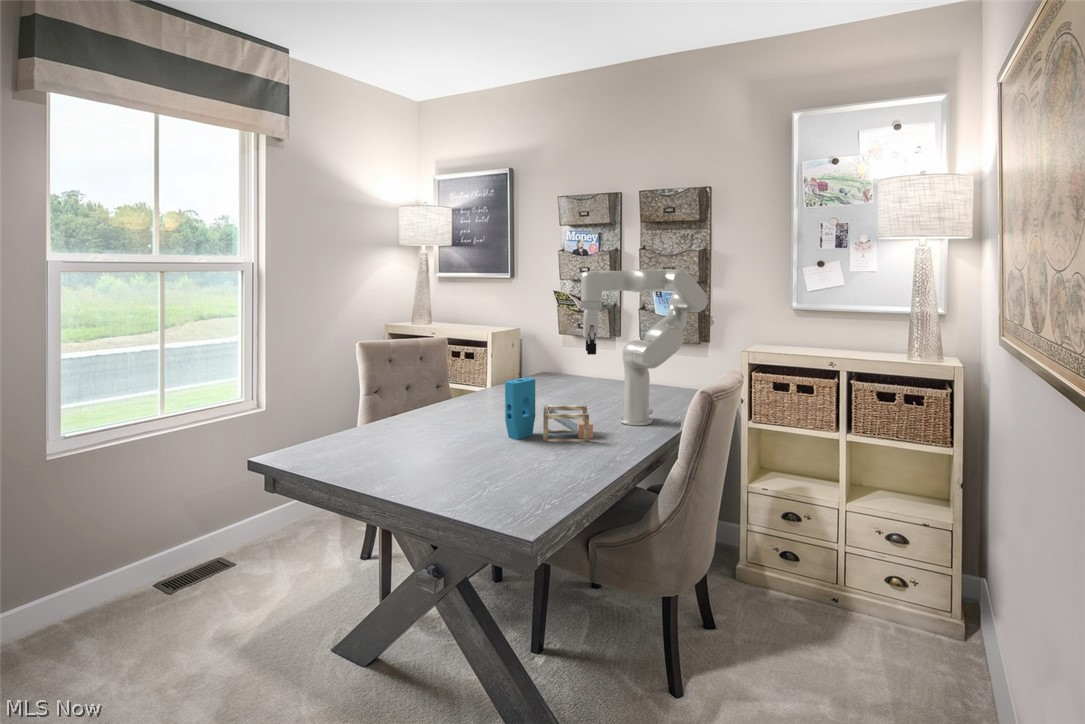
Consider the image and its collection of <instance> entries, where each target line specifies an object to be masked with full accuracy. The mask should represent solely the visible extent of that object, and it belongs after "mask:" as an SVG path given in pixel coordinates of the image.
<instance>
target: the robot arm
mask: <svg viewBox="0 0 1085 724" xmlns="http://www.w3.org/2000/svg"><path fill="white" fill-rule="evenodd" d="M580 277H581V279H580V281H581V282H580V286H581V287H580V311H583V316H582V318H583V319H582V321H583V322H582V336H583V338H585V339H586V340H585V351H586V352H587V355H589V356H590V355H596V354H597V341H596V340H597V338H598V335H599V334H598V333H599V311H602V308H603V307H602V306H603V292H612V293H613V292H615V293H616V292H618V291H625V292H635V293H654V292H656V293H658V292H661V293H662V292H663V293H664V292H672V294H671V296H670V298H669V306H668V307H669V309H668V312H667V314H666V316H664V317H663V318H662V319H661V320H659V321H658V322H657V323H656V324H655V325H653V326H652V327H650V329H648V330H647V331H646V333H645V335H644V340H636V339H635V340H631V341H628V342H627V343H626V344H625V345H624V346H623V349H622V362H623V369H624V380H623V381H624V384H623V385H624V386H623V388H624V389H623V390H624V391H623V392H624V393H623V416H621V417H619V422H620V423H621V424H624V425H627V426H637V427H638V426H639V427H640V426H648V425H651V424H653V419H652V417H650V415H652V414H654V409H652V408H650V381H651V380H650V377H651V376H650V371H649V369H650V370H651V369H656V368H658V367H660V366H661V365H663V364H664V363H665V362H667V360H669V359H670V358H671V357H672V356H674V354H676V353H678V351H679V350H680V349H681V348H682V345H683V343H684V335H683V330H684V329H685V328H686V325H687V315H688V313H687V312H689V313H690V312H691V313H698V312H702V311H704V310H705V308H706V307H707V305H708V297H707V294H706V291H704V289H703V288H701V286H700V285H699V283H698V282H697V281H696V280H695V279H694V278H693V277H692V276H691V275H690V274H689V273H688V272H687V271H686V270H684V269H682V268H681V269H679V268H678V269H676V268H675V269H673V268H672V269H670V268H669V269H667V268H662V269H661V268H657V269H656V268H655V269H652V268H651V269H649V268H647V269H646V268H643V269H642V268H641V269H629V270H628V269H627V270H598V271H583V272H582V273H581V276H580ZM649 408H650V409H649Z"/></svg>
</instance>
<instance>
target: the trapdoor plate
mask: <svg viewBox="0 0 1085 724" xmlns="http://www.w3.org/2000/svg"><path fill="white" fill-rule="evenodd" d="M548 414H560V413H559V412H558V411H554V408H552V407H551V408H550V409H549V410H548ZM553 420H554V421H556V422H557V423H559V424H560V425H562V426H564V427H565V428H567V430H572V431H573V432H572V433H575V434H577V435H578V423H576V422H574V421H572V420H571V419H553Z"/></svg>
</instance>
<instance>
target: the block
mask: <svg viewBox="0 0 1085 724" xmlns="http://www.w3.org/2000/svg"><path fill="white" fill-rule="evenodd" d="M504 421H505V426H506V430H507V432H506V433H507V436H508V438H509V439H514V440H522V439H525V438H527V437H530V436H533V433H534V427H535V421H536V378H532V377H522V378H515V379H511V380H506V381H504Z"/></svg>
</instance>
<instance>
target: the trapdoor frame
mask: <svg viewBox="0 0 1085 724" xmlns="http://www.w3.org/2000/svg"><path fill="white" fill-rule="evenodd" d="M551 407H552V408H554V411H556V412H558V411H563V412H564V411H572V412H573V411H574V412H575V411H577V412H579V411H581V412H582V413H559V414H549V409H550V408H551ZM554 419H569V420H581V421H584V438H549V433H574V432H573V431H572V430H570V429H561V428H560V429H559V428H558V429H554V428H553V429H549V420H554ZM589 421H590V414H589V413H588V405H543V424H542V425H543V431H542V432H543V442H550V443H551V442H552V443H553V442H557V443H559V442H560V443H565V442H567V443H569V442H570V443H574V442H576V443H581V442H582V443H587V442H590V440H589V439H590V438H589Z"/></svg>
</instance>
